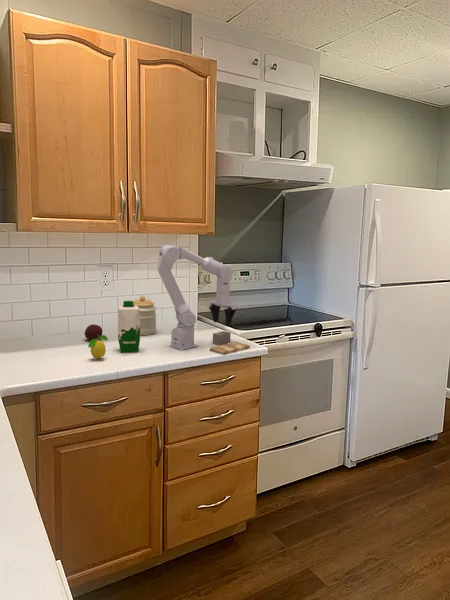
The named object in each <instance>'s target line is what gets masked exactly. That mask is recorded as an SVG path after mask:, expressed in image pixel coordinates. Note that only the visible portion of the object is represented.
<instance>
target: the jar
mask: <svg viewBox="0 0 450 600" xmlns="http://www.w3.org/2000/svg"><path fill="white" fill-rule="evenodd" d="M132 301H133V305H134V306H138V307H139V311H140V336H149V335H151V336H152V335H154V334H156V332H157V314H156V310H157V307H156V306H155V302H153V301H152V300H150V299H146V297H145V296H144V295H143V296H140V297H139V299H135V300H132Z"/></svg>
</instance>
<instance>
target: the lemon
mask: <svg viewBox="0 0 450 600" xmlns="http://www.w3.org/2000/svg"><path fill="white" fill-rule="evenodd" d="M99 337H100V338H99V339H92V340H89V342H88V348H90V354H91V356H92V357H93V358H95V359H96V360H100V358H101V359H102V358H103V357H104V356H105V355H106V352H107V349H106V345H105V344H104V342H103V341H105V342H106V341H107V342H108V341H109V339H108V337H107V335H105V334H102V335H101V336H99ZM100 339H101V340H100ZM102 340H103V341H102Z"/></svg>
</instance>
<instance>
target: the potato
mask: <svg viewBox="0 0 450 600" xmlns="http://www.w3.org/2000/svg"><path fill="white" fill-rule="evenodd" d="M101 335H103V328H102V327H101V325H98V324H94V323H93V324H90V325H87V327H86V329H85V331H84V336H85V339H87V340H89V341H91V340H92V339H97V340H100V339H101V338H100V337H99V336H101Z"/></svg>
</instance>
